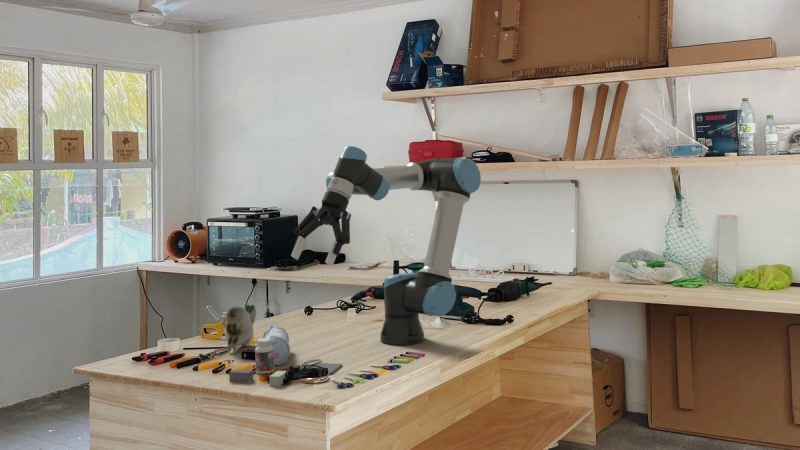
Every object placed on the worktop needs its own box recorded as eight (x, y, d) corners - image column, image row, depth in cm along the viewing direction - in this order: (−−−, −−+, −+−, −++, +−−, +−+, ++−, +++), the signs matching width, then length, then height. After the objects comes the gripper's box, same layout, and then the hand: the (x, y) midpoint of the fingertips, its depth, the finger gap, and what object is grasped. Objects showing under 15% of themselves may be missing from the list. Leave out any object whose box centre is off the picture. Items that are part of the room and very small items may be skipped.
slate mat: (311, 364, 250) (311, 362, 250) (342, 365, 248) (342, 363, 248) (299, 373, 241) (299, 371, 241) (331, 374, 238) (331, 372, 238)
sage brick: (277, 380, 234) (277, 370, 234) (287, 381, 233) (287, 371, 233) (269, 386, 228) (269, 376, 228) (279, 387, 227) (279, 376, 227)
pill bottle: (252, 373, 242) (251, 341, 241) (262, 368, 247) (260, 337, 246) (267, 374, 240) (266, 342, 239) (277, 370, 245) (276, 338, 244)
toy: (243, 355, 266) (264, 339, 286) (241, 309, 264) (262, 296, 284) (219, 355, 268) (241, 339, 287) (216, 309, 266) (238, 296, 286)
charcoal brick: (229, 382, 234) (229, 372, 234) (234, 379, 237) (233, 369, 236) (248, 383, 232) (248, 372, 232) (253, 380, 235) (252, 370, 235)
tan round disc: (306, 375, 238) (306, 372, 238) (332, 376, 236) (332, 373, 236) (296, 382, 230) (296, 380, 230) (323, 384, 228) (323, 381, 228)
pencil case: (262, 352, 269) (261, 323, 268) (289, 350, 271) (288, 322, 270) (262, 367, 249) (261, 337, 248) (291, 366, 250) (290, 335, 249)
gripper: (299, 186, 245) (272, 250, 239) (363, 193, 229) (336, 261, 223) (314, 197, 250) (288, 260, 244) (377, 205, 235) (351, 272, 229)
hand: (311, 261), depth 234 cm, fingers open, 13 cm apart
